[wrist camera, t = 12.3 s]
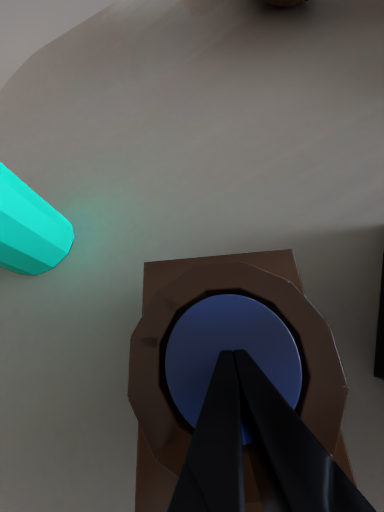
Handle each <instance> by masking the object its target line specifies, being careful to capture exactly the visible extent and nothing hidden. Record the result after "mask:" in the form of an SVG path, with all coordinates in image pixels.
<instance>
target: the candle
mask: <svg viewBox="0 0 384 512" xmlns="http://www.w3.org/2000/svg"><path fill="white" fill-rule="evenodd" d="M73 240H74V233H73V228H72V224H71V223H70V222H69V221H68V220H67V219H66V218H64V217H63V216H62V215H61V214H60V213H59V212H57V211H56V210H55V209H54V208H53V207H52V206H51V205H49V204H48V203H47V202H46V201H45V200H44V199H42V198H41V197H40V196H39V195H38V194H37V193H36V192H34V191H33V190H32V189H31V188H30V187H29V186H27V185H26V184H25V183H24V182H23V181H22V180H21V179H19V178H18V177H17V176H16V175H15V174H14V173H12V172H11V171H10V170H9V169H8V168H7V167H6V166H4V165H3V164H2V163H1V162H0V267H3V268H5V269H8V270H10V271H13V272H16V273H18V274H26V275H38V274H41V273H43V272H45V271H48V270H50V269H53V268H54V267H55V266H56V265H57V264H58V263H59V262H60V261H61V260H62V259H63V258H64V257H65V256H66V255H67V254H68V253H69V250H70V248H71V245H72V243H73Z"/></svg>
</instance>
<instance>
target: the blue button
mask: <svg viewBox="0 0 384 512" xmlns="http://www.w3.org/2000/svg"><path fill="white" fill-rule="evenodd" d="M235 349H245V350H246V351H247V352H248V353H249V355H250V356H251V357H252V358H253V360H254V361H255V362H256V363H257V365H258V366H259V367H260V368H261V370H262V371H263V372H264V373H265V375H266V376H267V377H268V378H269V380H270V381H271V382H272V383H273V385H274V386H275V387H276V388H277V390H278V391H279V392H280V393H281V395H282V396H283V397H284V398H285V400H286V401H287V402H288V403H289V405H290V406H291V407H292V408H293V410H294V409H295V407H296V405H297V402H298V399H299V395H300V390H301V383H302V368H301V361H300V356H299V352H298V349H297V346H296V344H295V341H294V339H293V337H292V335H291V333H290V332H289V330H288V328H287V327H286V326H285V324H284V323H283V321H282V320H281V319H280V318H279V317H278V316H277V315H276V314H275V313H274V312H273V311H271V310H270V309H269V308H268V307H266V306H265V305H263V304H261V303H260V302H258V301H256V300H253V299H251V298H248V297H245V296H241V295H234V294H222V295H215V296H212V297H208V298H206V299H203V300H201V301H199V302H198V303H196V304H194V305H193V306H192V307H190V308H189V309H188V310H187V311H186V312H185V313H184V314H183V315H182V316H181V317H180V319H179V320H178V321H177V323H176V325H175V326H174V328H173V330H172V333H171V335H170V337H169V341H168V344H167V349H166V355H165V372H166V379H167V384H168V387H169V391H170V394H171V396H172V398H173V401H174V403H175V405H176V406H177V408H178V410H179V411H180V413H181V414H182V415H183V417H184V418H185V419H186V420H187V421H188V422H189V423H190V424H191V425H192V426H193V427H194V428H195V427H196V423H197V420H198V417H199V414H200V411H201V408H202V405H203V402H204V399H205V396H206V393H207V390H208V387H209V384H210V381H211V377H212V374H213V371H214V368H215V365H216V362H217V359H218V356H219V353H220V351H221V350H232V351H233V350H235ZM241 425H242V424H241ZM242 445H246V441H245V437H244V433H243V428H242Z"/></svg>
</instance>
